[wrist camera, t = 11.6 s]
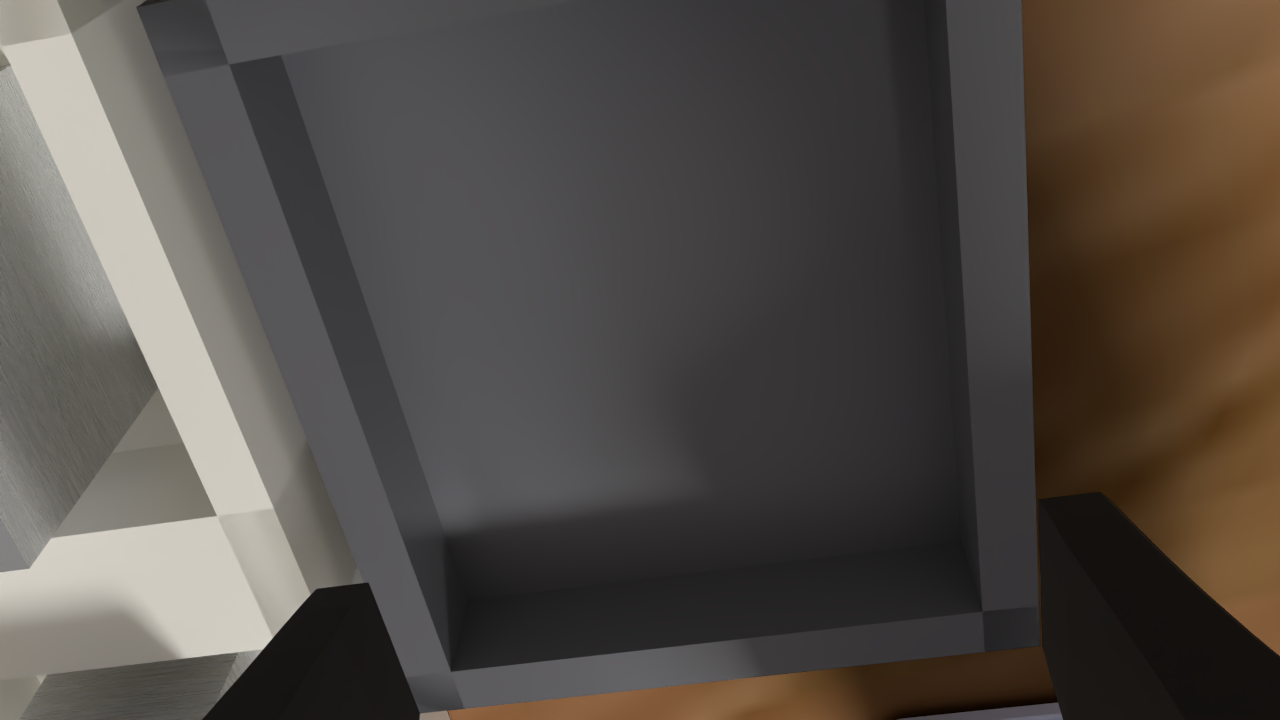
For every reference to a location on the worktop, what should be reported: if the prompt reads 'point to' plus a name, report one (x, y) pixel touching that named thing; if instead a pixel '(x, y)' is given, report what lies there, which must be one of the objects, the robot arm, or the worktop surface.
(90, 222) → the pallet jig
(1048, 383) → the worktop surface
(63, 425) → the block
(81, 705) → the seated billet
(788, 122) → the tote
